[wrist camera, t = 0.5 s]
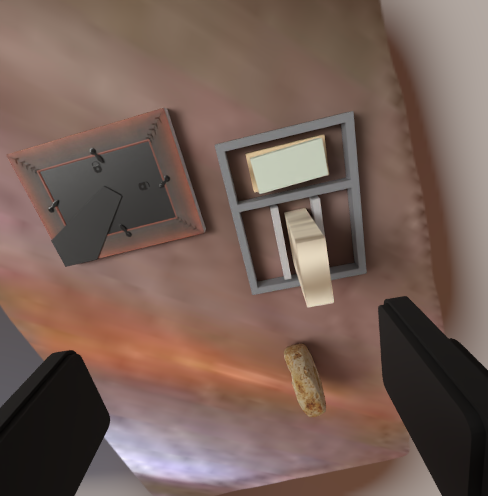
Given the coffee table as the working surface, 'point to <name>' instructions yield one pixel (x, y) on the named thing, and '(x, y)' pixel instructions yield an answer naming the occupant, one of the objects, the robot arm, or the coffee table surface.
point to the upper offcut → (289, 165)
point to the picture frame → (111, 188)
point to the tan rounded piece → (305, 380)
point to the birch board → (309, 257)
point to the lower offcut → (266, 150)
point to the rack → (308, 191)
